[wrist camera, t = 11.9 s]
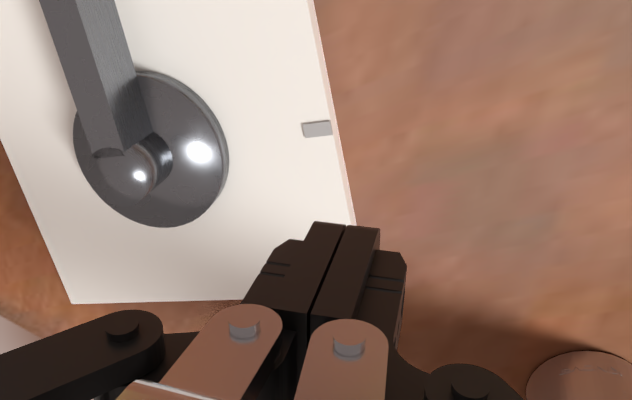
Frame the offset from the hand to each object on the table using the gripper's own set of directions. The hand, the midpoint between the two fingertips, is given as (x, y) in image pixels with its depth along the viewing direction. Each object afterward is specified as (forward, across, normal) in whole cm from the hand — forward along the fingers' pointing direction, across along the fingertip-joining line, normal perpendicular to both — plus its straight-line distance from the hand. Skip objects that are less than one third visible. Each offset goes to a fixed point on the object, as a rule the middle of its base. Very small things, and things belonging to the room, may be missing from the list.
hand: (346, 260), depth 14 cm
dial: (+27, +20, +5) cm, 34 cm away
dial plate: (+28, +20, +9) cm, 36 cm away
